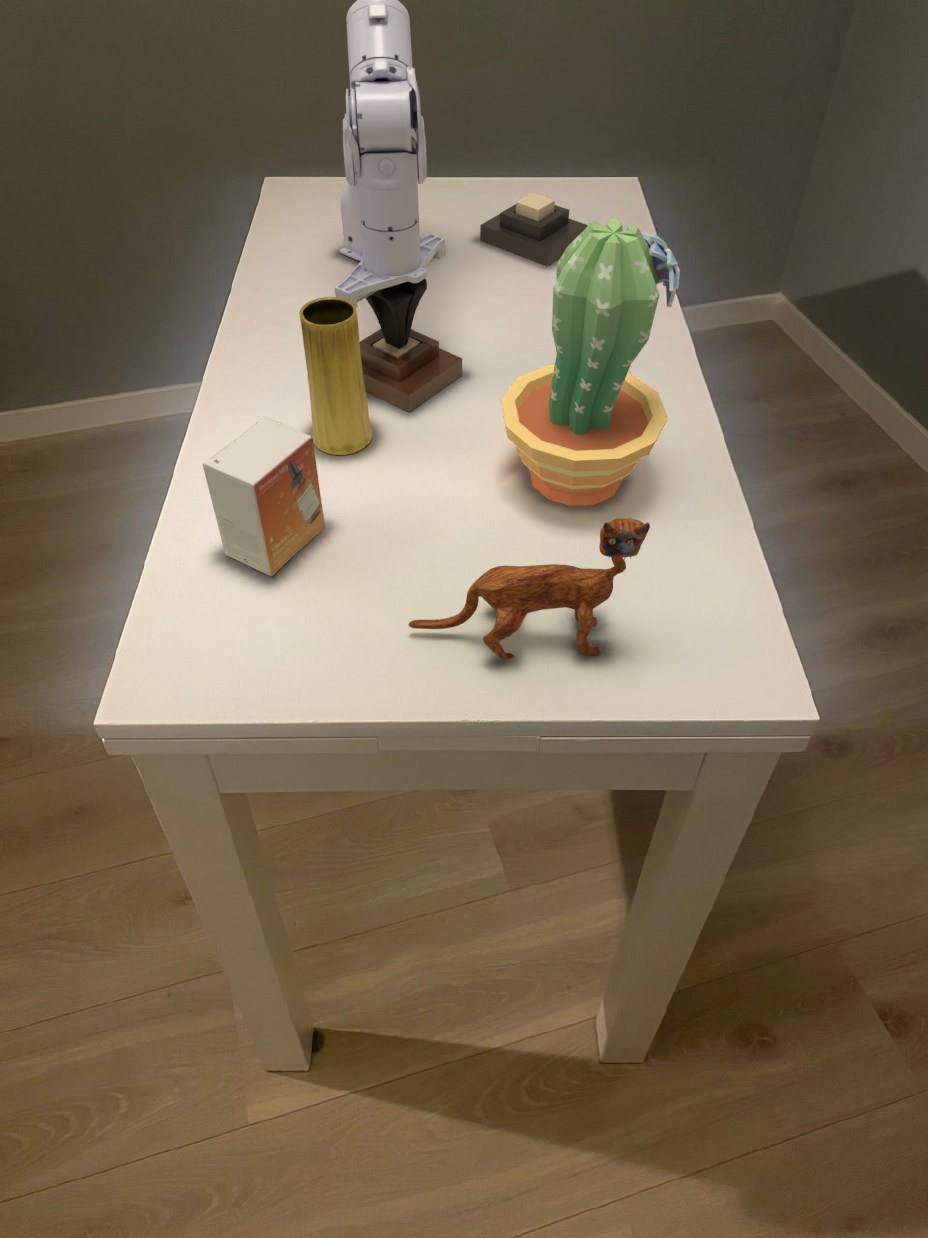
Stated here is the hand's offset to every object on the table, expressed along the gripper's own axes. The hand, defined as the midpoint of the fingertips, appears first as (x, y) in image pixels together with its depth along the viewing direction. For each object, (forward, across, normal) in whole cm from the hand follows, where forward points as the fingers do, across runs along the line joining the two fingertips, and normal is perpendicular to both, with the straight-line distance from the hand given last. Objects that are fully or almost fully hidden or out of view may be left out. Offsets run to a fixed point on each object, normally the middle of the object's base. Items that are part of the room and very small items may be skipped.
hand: (396, 343), depth 100 cm
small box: (+4, -27, -9) cm, 29 cm away
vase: (+4, -12, -3) cm, 13 cm away
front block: (+4, 0, 0) cm, 4 cm away
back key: (0, +35, +7) cm, 36 cm away
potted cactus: (+4, -2, -25) cm, 25 cm away
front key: (+2, 0, 0) cm, 2 cm away
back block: (+4, +35, +7) cm, 36 cm away
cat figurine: (+4, -22, -33) cm, 40 cm away
